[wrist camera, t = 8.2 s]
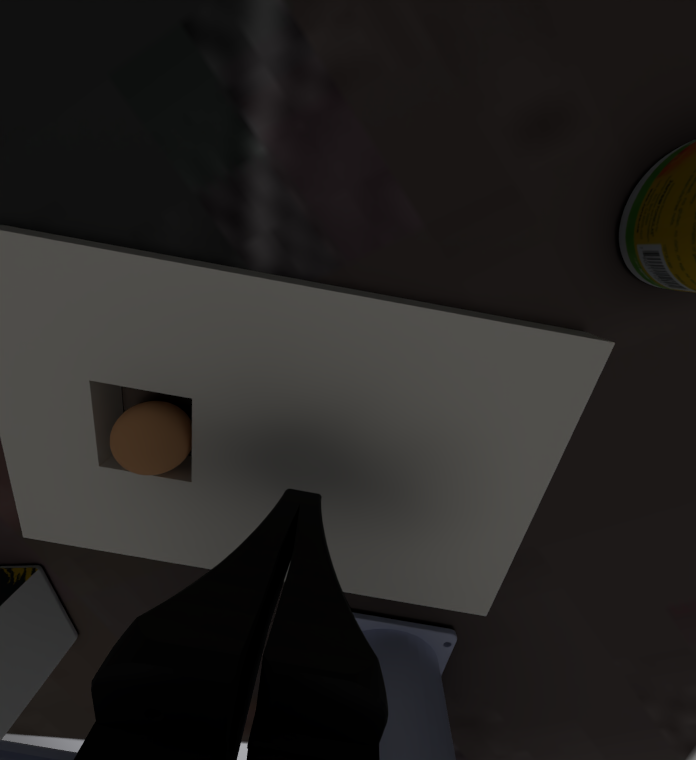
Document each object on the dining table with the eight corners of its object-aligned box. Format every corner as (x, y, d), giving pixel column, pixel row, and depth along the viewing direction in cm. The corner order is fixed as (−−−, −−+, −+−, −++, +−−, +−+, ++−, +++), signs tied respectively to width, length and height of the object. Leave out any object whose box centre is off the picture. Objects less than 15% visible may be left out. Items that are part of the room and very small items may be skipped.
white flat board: (584, 331, 15) (615, 342, 13) (475, 583, 21) (486, 616, 19) (3, 224, 15) (-49, 221, 13) (54, 511, 21) (23, 537, 19)
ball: (205, 464, 18) (151, 501, 15) (152, 442, 19) (89, 473, 15) (213, 404, 17) (157, 430, 14) (156, 383, 18) (90, 403, 14)
